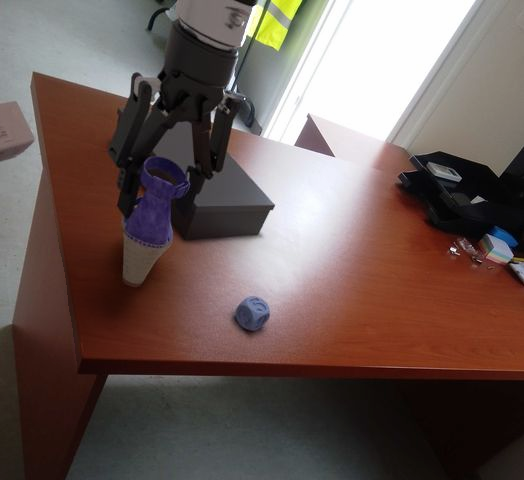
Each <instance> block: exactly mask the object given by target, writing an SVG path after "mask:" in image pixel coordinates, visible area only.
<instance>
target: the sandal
mask: <svg viewBox="0 0 524 480" xmlns="http://www.w3.org/2000/svg"><path fill="white" fill-rule="evenodd" d="M150 169H158V170H162V171H165V172H167V173H169V174H170V175H172V176H173V177H174V178H175V179H176V181H177V183H178V186H175V187H174V186H173V184H171V183H169V182H167V181H164V180H162V179H160V178H158V177H156V176H153V177H152V176H151V175H149V174H148V172H147V170H150ZM140 179H141V185H142V186H143V187H144V188H145V190H146V191H145V192H144V193H143V195H139V196H137V198H136V202H135V206H134V210H133V213H132V214H131V216H130V218H129V219H126V218H125V217H124V215H123V214H122V217H121V221H120V222H121V225H120V229H121V230H122V234H123V262H122V263H123V264H122V281H123V283H124V284H125V285H127V286H129V287H132V288H138V287H140V286H141V285H142V284H143V283H144V281H145V280H146V278H147V276H148V274H149V273H150V271H151V269H152V268H153V267H154V264H156V262H157V261H158V260H159V259H160V258H161V257H162V256H163V255H165V254H166V253H167V251H168V250H169V249H170V247H171V245H172V243H173V240H174V232H173V227H172V222H171V220H170V204H171V200H170V199H174V198H176V197H177V198H180V197H181V196H182V195H185V194H186V193H187V191H188V190H189V187H190V182H189V172H187V173H186V175H185V173H184V172H183V170H182V169H181V168H180V167H179V166H178V165H177V164H176V163H174V162H173V161H171V160H170V159H167V158H163V157H157V156H153V157H150V158H148V159H147V160H146V161H145V162H144V165H143V169H142V173H141V178H140ZM187 187H188V188H187ZM186 188H187V190H186ZM185 190H186V192H185ZM184 192H185V193H184ZM183 193H184V194H183Z"/></svg>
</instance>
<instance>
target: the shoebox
mask: <svg viewBox="0 0 524 480" xmlns="http://www.w3.org/2000/svg"><path fill="white" fill-rule="evenodd" d="M124 108H125V107H117V111H116V114H117V116H118V117H117V123H116V127H115V129H116V128H117V125H118V123H119V120H120V118H121V115H122V113H123V110H124ZM150 114H151V111H148V114H147V116H146V119H147V118H148V117H149V115H150ZM165 115H166V116H168V113H165ZM146 119H145V121H146ZM145 121H144V122H145ZM143 124H144V123H143ZM210 137H211V132H210ZM153 156H157V157H163V158H167V159H170V160H171V161H173V162H174V163H176V164H177V165H178V166H179V167H180V168H181V169H182V170H183V172H184V173H186V170H187V167H188V165H190V166H193V167H194V168H195V164H194V153H193V139H192V125H191V123H189V122H187V121H186V122H177V123H176V125H175V126H174V127H173V128H172V129H168V130H167V132H166V133H165V134H164V136H163V137H162V138H161V140H160V141H159V142H158V144H157V145H156V146H155V148H154V149H153V151H152V152H151V153H150V155H149V156H148V157H147V159H148V158H150V157H153ZM147 159H146V160H147ZM146 160H145V161H146ZM145 161H144V162H145ZM143 165H144V163H143V164H142V165H141V167H140V168H139V171H140V172H141V173H142V169H143ZM147 172H148V174H149V175H151V176H152V177H153V176H156V177H158V178H160V179H162V180H164V181H167V182H169V183H171V184H173V186H174V187H175V186H178V183H177V181H176V179H175V178H174V177H173V176H172V175H170V174H169V173H167V172H165V171H162V170H158V169H150V170H147ZM212 173H213V174H214V176H213V178H212V179H210V180H207V179H205V182H204V184H203V187H202V190H201V192H200V193H199V194H196V197H195V200H194V202H193V205H192V208H191V211H190V213H189V216H188V217H183V216H182V214H181V213H180V212H179V210H178V209H177V208H176V207H175V203H176V200H177V197H176V198H174V199H170V200H171V204H170V223H171V224H173V226H174V227H175V229H176V230H177V232H179V233H180V235H181V236H182V238H183V239H184V240H185V241H186V240H187V241H188V240H200V239H215V238H216V239H217V238H229V237H242V236H243V237H244V236H256V235H259V234H260V232H261V230H262V228H263V226H264V224H265V222H266V220H267V218H268V216H269V214H270V212H271V211H273V210H274V209H275V207H276V204H275V203H274V202H273V201H272V200H271V199H270V198H269V196H267V194H266V193H265V192H264V191H263V190H262V188H260V187H259V185H258V184H257V183H256V182H255V181H254V180H253V178H251V176H250V175H249V174H248V173H247V172H246V171H245V169H244V168H243V167H242V166H240V164H239V163H238V162H237V161H236V159H234V157H232V155H231V154H230V153H229V152H228V151H227V152H226V156H225V160H224V165H223V169H222V171H221V172H219V173H217V172H215V171H214V172H212Z"/></svg>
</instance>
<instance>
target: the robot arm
mask: <svg viewBox="0 0 524 480" xmlns="http://www.w3.org/2000/svg"><path fill="white" fill-rule="evenodd" d="M258 2H259V0H176V4H175V7H174V12H175V14H176V17H177V18H176V19H174V20H173V21H172V22H171V25H170V29H169V33H168V36H167V41H166V44H165V50H164V59H163V60H164V61H163V67H162V68H161V70H160V71H159V73H157V75H156V77H147V76H146V77H144V76H143V75H142V73H140V72H138V71H136V72H133V73H132V75H131V78H130V79H131V80H130V91H129V92H130V93H129V95H128V98H127V100H126V102H125V103H126V104H125V105H124V107H123V108H124V110H123V113H122V115H121V118H120V120H119V123H118V125H117V124H116V127H117V128H116V127H115V131H114V132H113V134H112V138H111V140H110V142H109V145H108V148H107V150H106V153H107V155H108V156H109V158H110V159H111V160H112V162H113V163H114V164H115V166H116V168H119V172H118V176H117V181H116V187H117V188H118V190H119V195H118V199H117V203H116V207H117V208H118V210H119V211H120V213H121V214H122V216H123V215H124V217H125V218H126V219H129V218H130V216H131V214H132V213H133V210H134V206H135V202H136V198H138V194H139V191H140V187H141V185H142V183H141V179H140V178H141V172H140V171H139V168H140V167H141V165H142V164H143V163H144V161H145V160H146V159H147V157H148V156H149V155H150V153H151V152H152V151H153V149H154V148H155V146H156V145H157V144H158V142H159V141H160V140H161V138H162V137H163V136H164V134H165V133H166V132H167V130H168V129H172V128H173V127H174V126H175V125H176V123H177V122H186V121H187V122H189V123H191V125H192V139H193V153H194V164H195V168H194V167H193V166H190V165H188V167H187V170H186V173H187V172H189V182H190V187H189V190H188V191H187V193H186V194H185V195H182V196H181V197H180V198H177V200H176V203H175V207H176V208H177V209H178V210H179V212H180V213H181V214H182V216H183V217H188V216H189V213H190V211H191V208H192V205H193V202H194V200H195V197H196V194H199V193H200V192H201V190H202V187H203V184H204V182H205V179H207V180H210V179H212V178H213V176H214V174H213V173H212V172H214V171H215V172H217V173H219V172H221V171H222V169H223V165H224V160H225V156H226V152H228V146H229V142H230V138H231V133H232V128H233V124H234V120H235V118H236V116H237V114H238V112H239V110H240V109H241V107H242V103H241V102H240V100H238V99H237V97H236V96H235V95H234V94H233V93H232V92H231V91H230V90H225V88H226V87H227V86H229V84H230V83H231V80H232V77H233V74H234V71H235V69H236V66H237V62H238V60H239V58H240V54H239V51H238V48H240V47H242V46H243V45H244V43H245V40H246V37H247V35H248V31H249V29H250V27H251V23H252V20H253V18H254V15H255V12H256V10H257V5H258ZM157 93H158V97H157V99H156V97H155V96H156V94H157ZM151 103H153V104H152V106H151ZM150 108H151V109H150ZM150 110H151V111H150ZM214 110H215V111H214ZM213 111H214V117H213V122H212V112H213ZM148 112H151V114H150V115H149V117H148V118H147V119H146V116H147V114H148ZM165 114H168V116H166V115H165ZM145 119H146V121H145ZM144 121H145V122H144ZM143 123H144V124H143ZM210 131H211V132H210ZM210 133H211V137H210ZM186 173H185V175H186ZM187 188H188V187H187ZM187 188H186V190H187ZM186 190H185V192H186ZM185 192H184V193H185ZM184 193H183V194H184Z"/></svg>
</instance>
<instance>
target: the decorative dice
mask: <svg viewBox="0 0 524 480" xmlns="http://www.w3.org/2000/svg"><path fill="white" fill-rule="evenodd" d="M235 317H236V320H237V323H238V324H239V326H240V327H242V328H243V329H245V330H247V331H251V332H253V331H257V330H259V329H261V328H262V327H263V326H264V325H265V324H266V323H267V322H268V321H269V319H270V317H271V309H270V307H269V305H268V303H267V302H266V301H265V300H264V299H263V298H261V297H259V296H255V295H251V296H248V297H246V298H244V299H243V300H242V301H241V302H240V303H239V304H238V305H237V307H236V309H235Z"/></svg>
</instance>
